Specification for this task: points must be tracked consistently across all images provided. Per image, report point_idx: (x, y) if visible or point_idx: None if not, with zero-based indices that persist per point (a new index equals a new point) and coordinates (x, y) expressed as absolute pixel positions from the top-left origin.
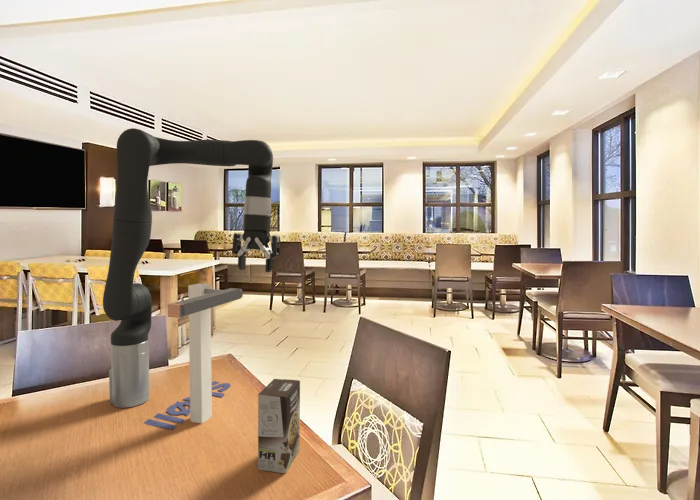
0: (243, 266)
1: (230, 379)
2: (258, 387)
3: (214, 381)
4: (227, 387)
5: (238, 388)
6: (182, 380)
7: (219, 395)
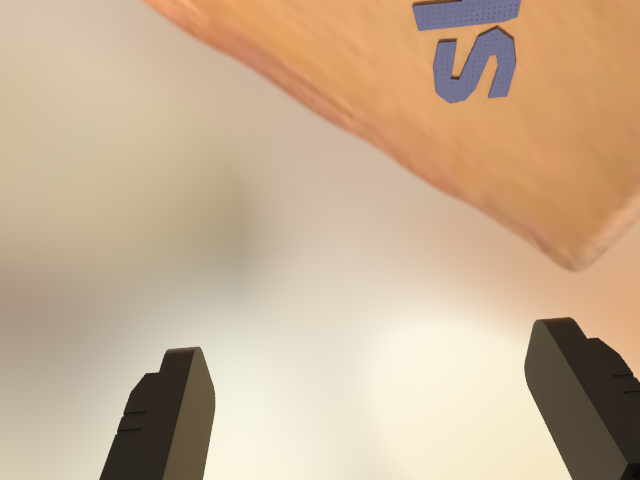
0: (544, 375)
1: (466, 134)
2: (348, 122)
3: (505, 94)
4: (437, 74)
5: (402, 88)
6: (618, 58)
7: (426, 10)
